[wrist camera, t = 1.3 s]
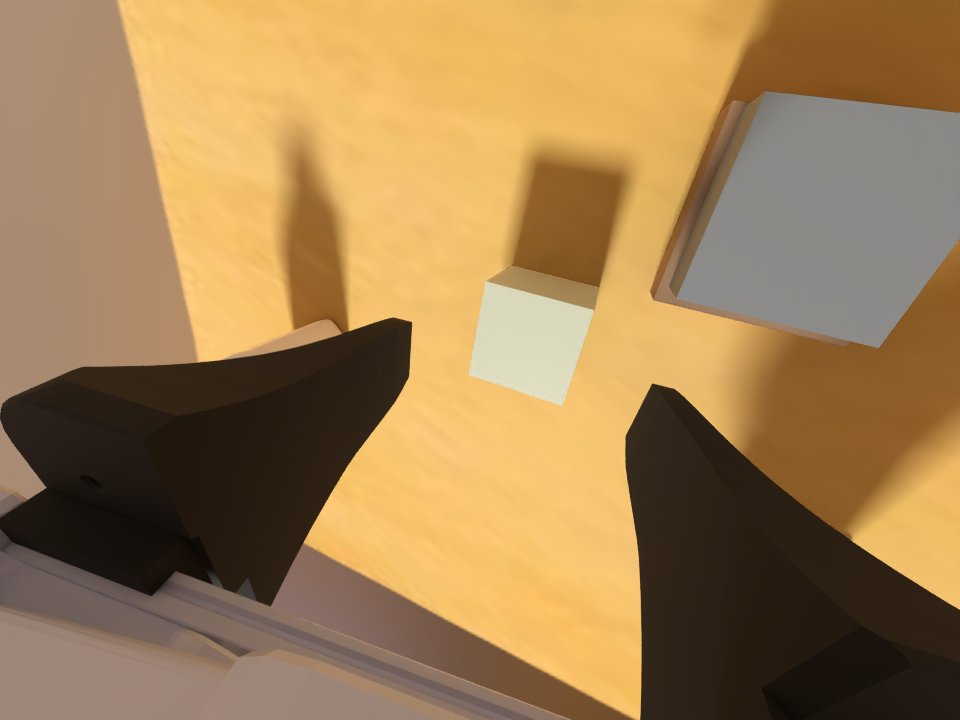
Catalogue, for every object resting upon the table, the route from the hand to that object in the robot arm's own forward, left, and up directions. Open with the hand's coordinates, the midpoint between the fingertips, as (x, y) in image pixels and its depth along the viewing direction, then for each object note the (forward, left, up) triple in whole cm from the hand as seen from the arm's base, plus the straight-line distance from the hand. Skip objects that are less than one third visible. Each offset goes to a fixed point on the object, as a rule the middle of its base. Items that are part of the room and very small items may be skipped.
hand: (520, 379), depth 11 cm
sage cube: (-2, +1, -11) cm, 11 cm away
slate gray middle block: (+6, -8, -9) cm, 13 cm away
